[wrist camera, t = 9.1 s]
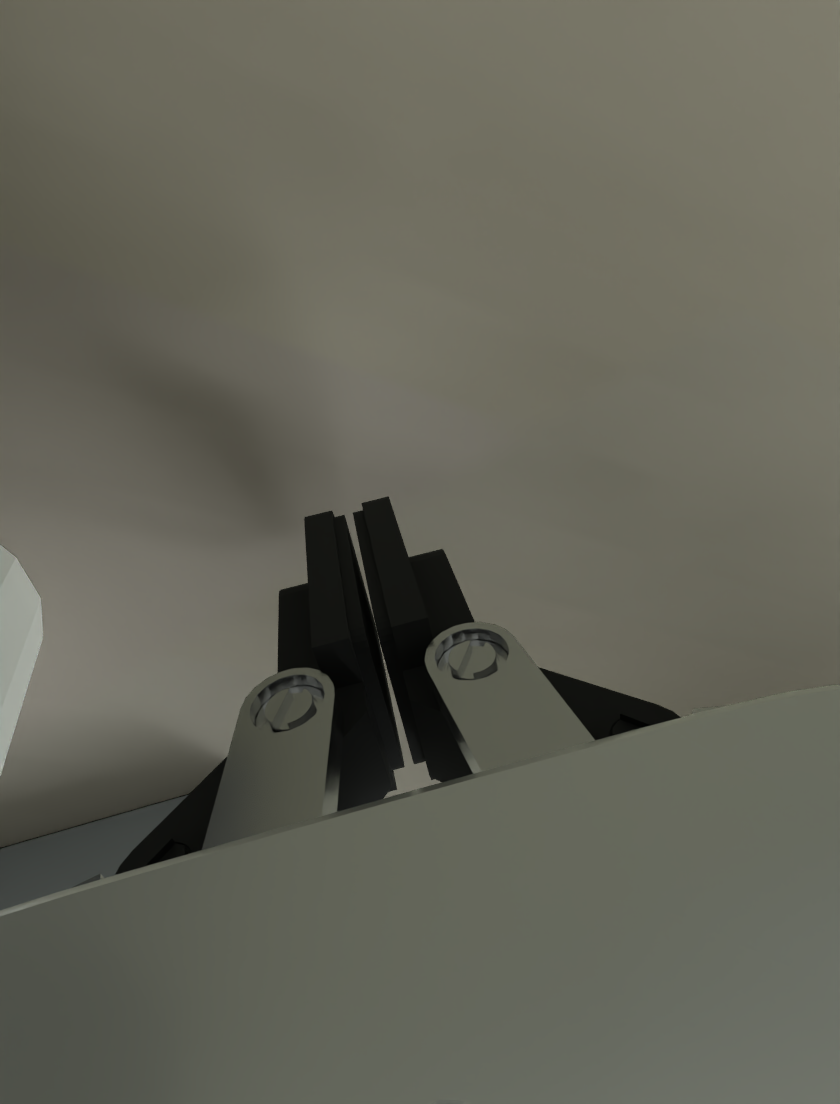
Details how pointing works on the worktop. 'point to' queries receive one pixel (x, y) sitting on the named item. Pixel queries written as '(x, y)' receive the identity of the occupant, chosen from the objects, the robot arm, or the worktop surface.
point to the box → (75, 854)
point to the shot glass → (16, 643)
